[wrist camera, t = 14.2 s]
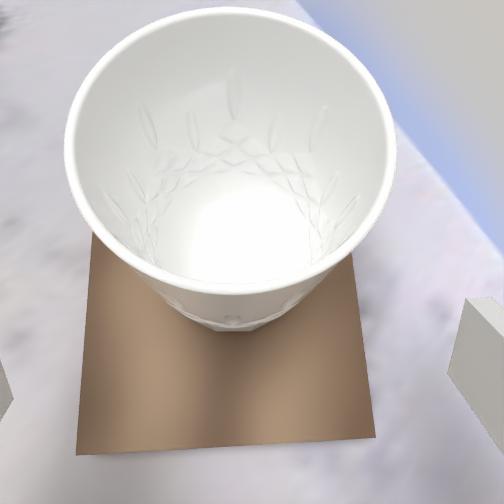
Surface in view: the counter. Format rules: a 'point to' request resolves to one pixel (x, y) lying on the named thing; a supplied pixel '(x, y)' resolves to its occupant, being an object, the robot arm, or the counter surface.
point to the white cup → (230, 160)
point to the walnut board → (217, 370)
